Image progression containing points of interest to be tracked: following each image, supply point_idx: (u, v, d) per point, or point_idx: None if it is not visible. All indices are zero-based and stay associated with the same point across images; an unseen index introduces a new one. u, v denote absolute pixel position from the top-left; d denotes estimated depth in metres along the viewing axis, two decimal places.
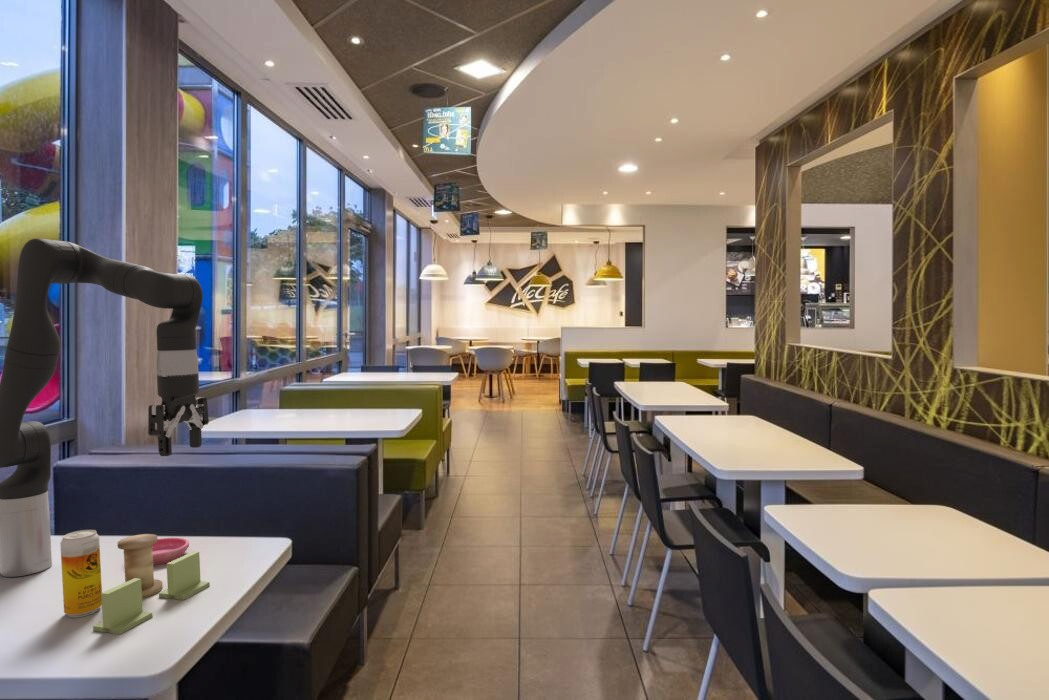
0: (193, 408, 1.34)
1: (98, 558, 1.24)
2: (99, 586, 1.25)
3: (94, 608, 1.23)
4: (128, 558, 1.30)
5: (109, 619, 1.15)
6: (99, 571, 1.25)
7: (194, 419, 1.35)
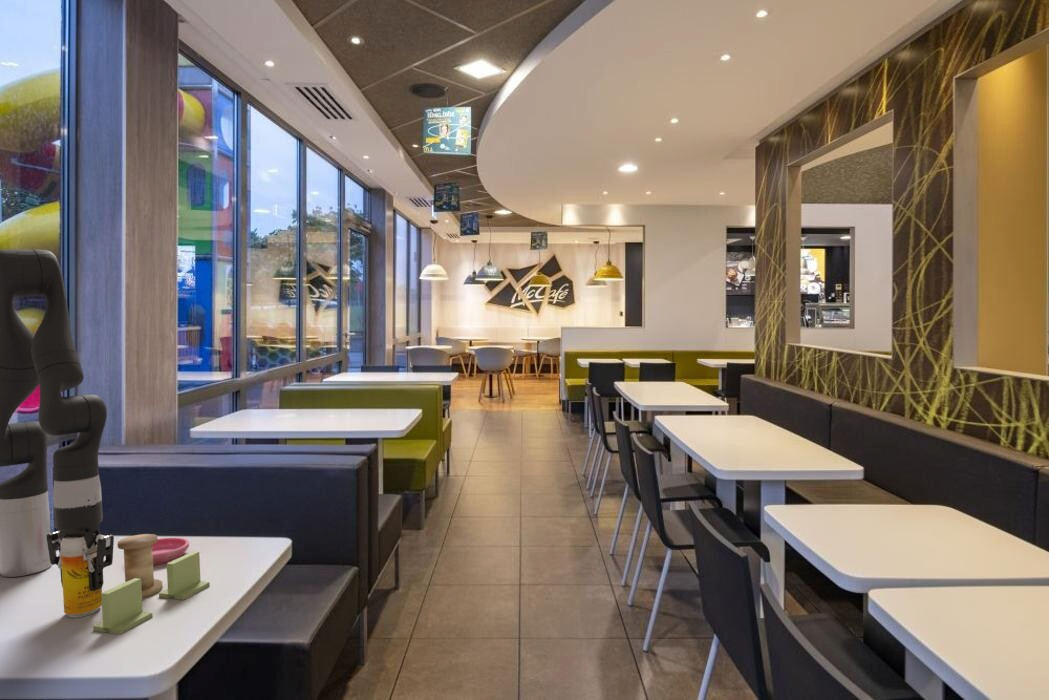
0: None
1: None
2: None
3: (94, 608, 1.23)
4: (128, 558, 1.30)
5: (109, 619, 1.15)
6: None
7: None
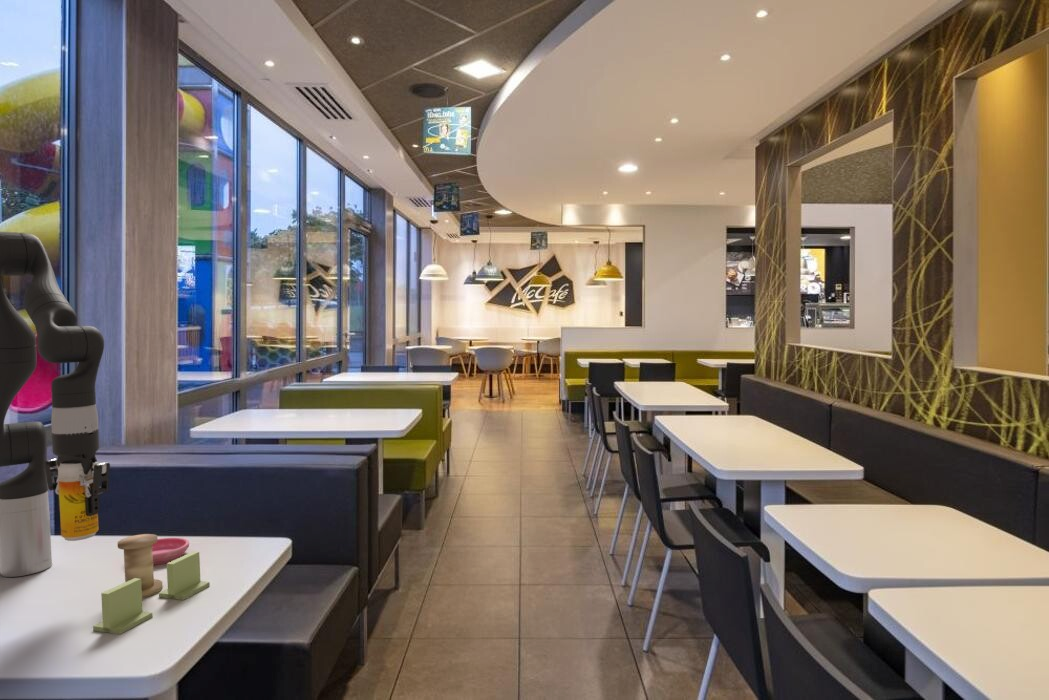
0: None
1: None
2: None
3: (90, 533, 1.27)
4: (128, 558, 1.30)
5: (109, 619, 1.15)
6: None
7: None
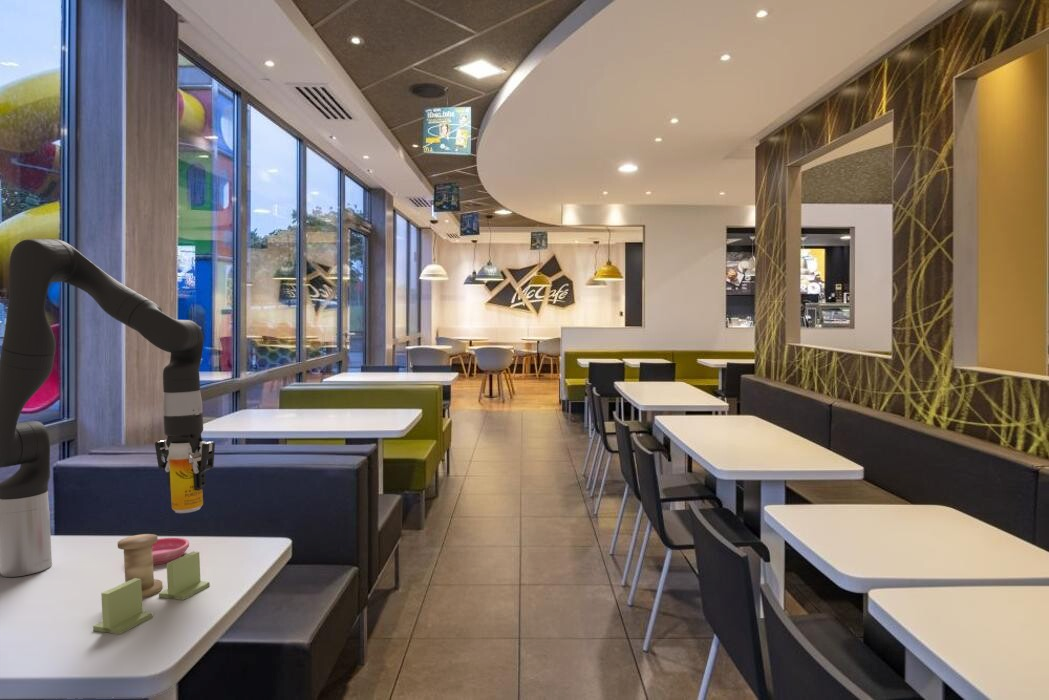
0: None
1: None
2: None
3: (197, 506, 1.41)
4: (128, 558, 1.30)
5: (109, 619, 1.15)
6: None
7: None
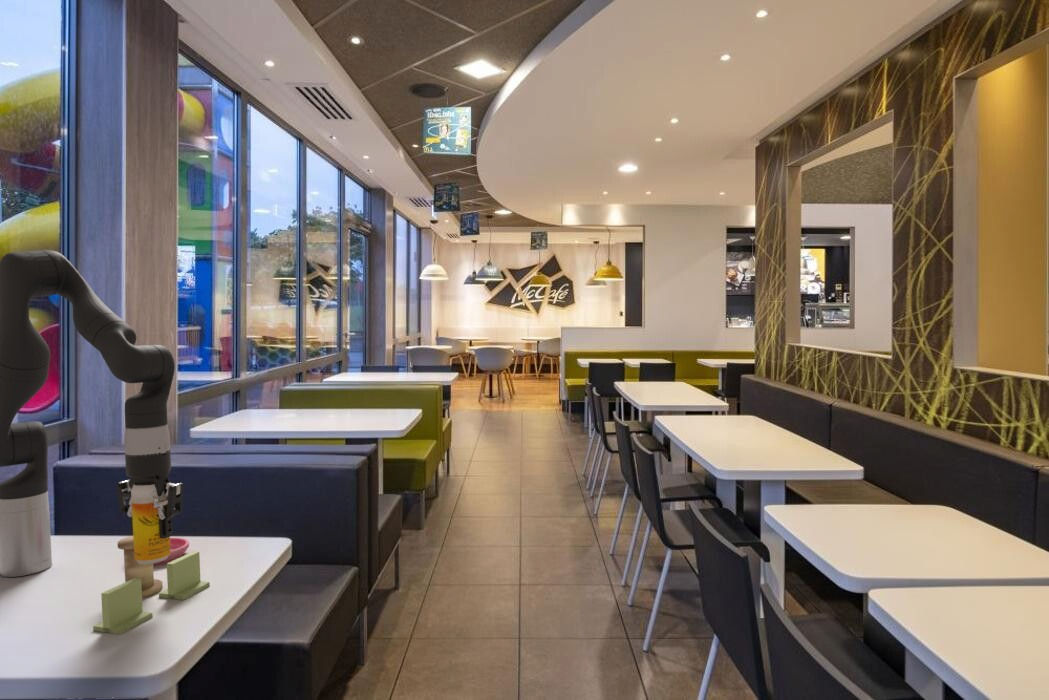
0: None
1: None
2: None
3: (164, 555, 1.24)
4: (128, 558, 1.30)
5: (109, 619, 1.15)
6: None
7: None
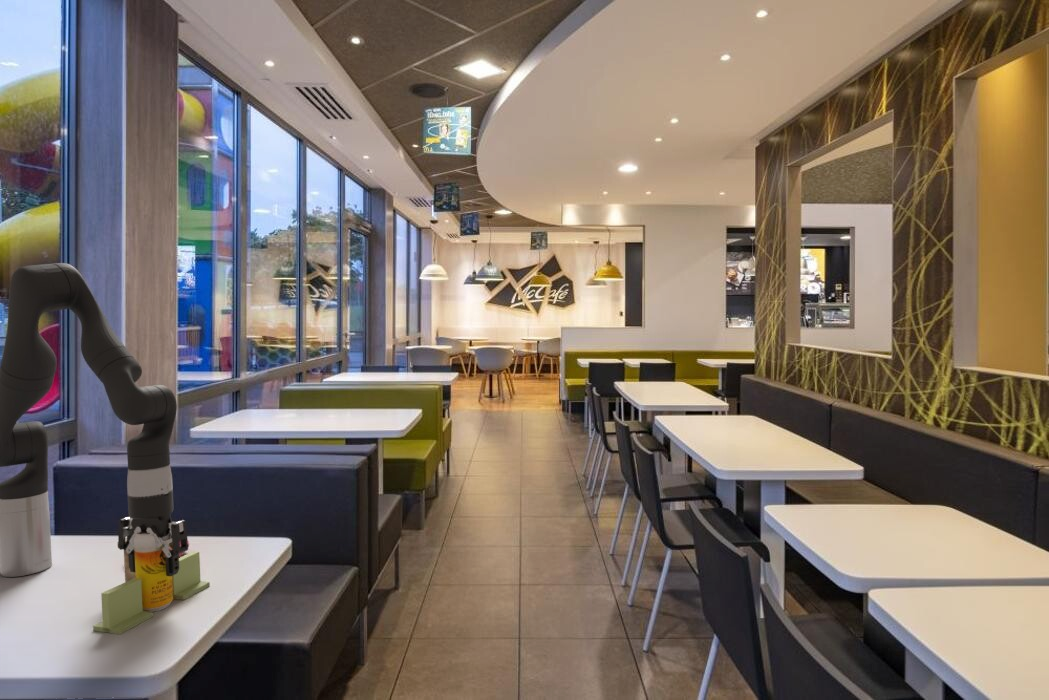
0: None
1: None
2: (171, 581, 1.26)
3: (166, 603, 1.25)
4: (128, 558, 1.30)
5: (109, 619, 1.15)
6: None
7: None
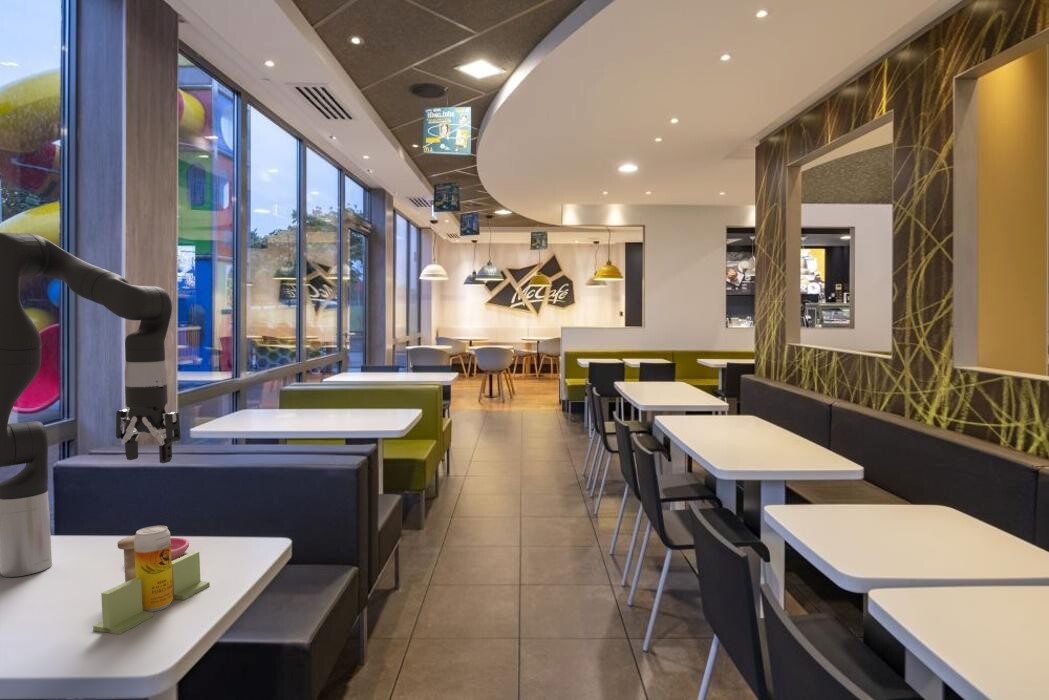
0: None
1: (170, 553, 1.26)
2: (170, 581, 1.26)
3: (166, 603, 1.25)
4: (128, 558, 1.30)
5: (109, 619, 1.15)
6: (170, 566, 1.26)
7: None
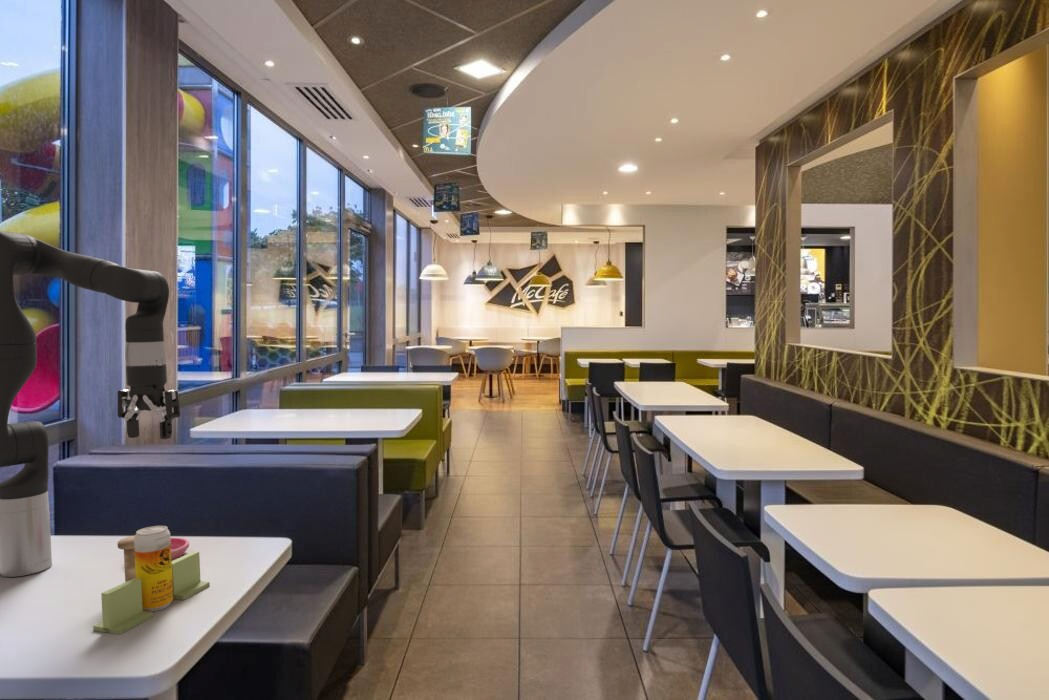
0: None
1: (170, 553, 1.26)
2: (170, 581, 1.26)
3: (166, 603, 1.25)
4: (128, 558, 1.30)
5: (109, 619, 1.15)
6: (170, 566, 1.26)
7: None
